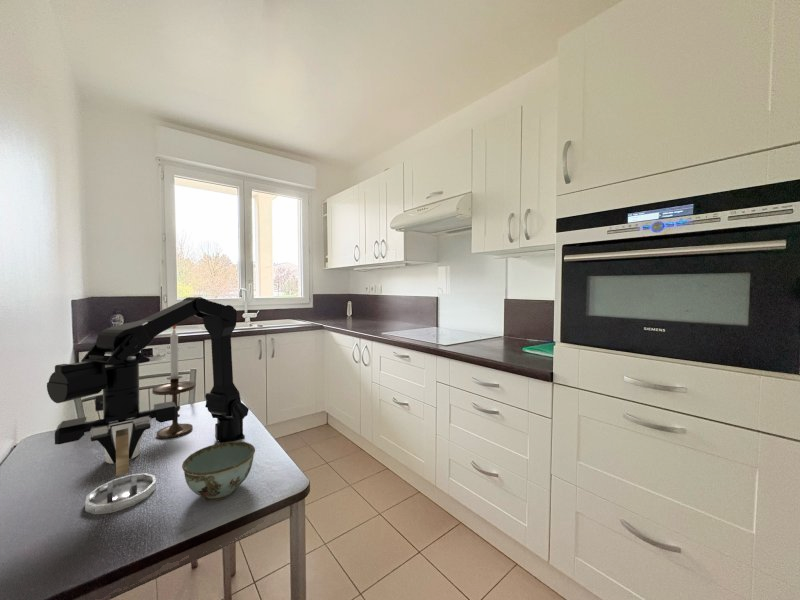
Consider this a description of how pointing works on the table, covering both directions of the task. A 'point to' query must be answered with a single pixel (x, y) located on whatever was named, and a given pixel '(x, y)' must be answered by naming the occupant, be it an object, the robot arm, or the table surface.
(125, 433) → the wooden plank
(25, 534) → the table surface
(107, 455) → the white cup
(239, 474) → the bowl
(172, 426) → the candlestick
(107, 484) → the tin
